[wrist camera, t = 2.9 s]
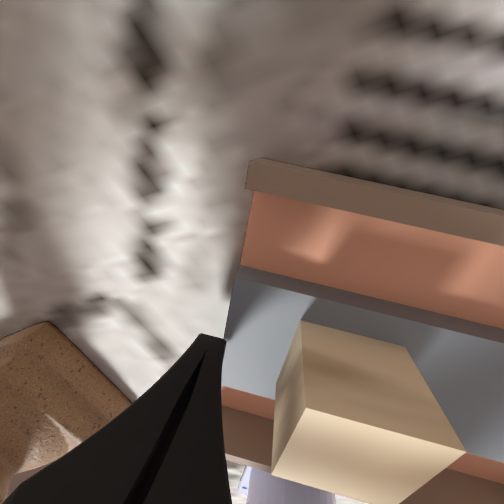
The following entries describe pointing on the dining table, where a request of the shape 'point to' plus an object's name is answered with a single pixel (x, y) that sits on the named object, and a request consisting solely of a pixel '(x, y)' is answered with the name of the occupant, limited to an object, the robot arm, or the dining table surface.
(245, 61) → the dining table surface
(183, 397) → the robot arm
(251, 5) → the dining table surface
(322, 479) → the maple block
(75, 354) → the candle holder
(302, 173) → the box
